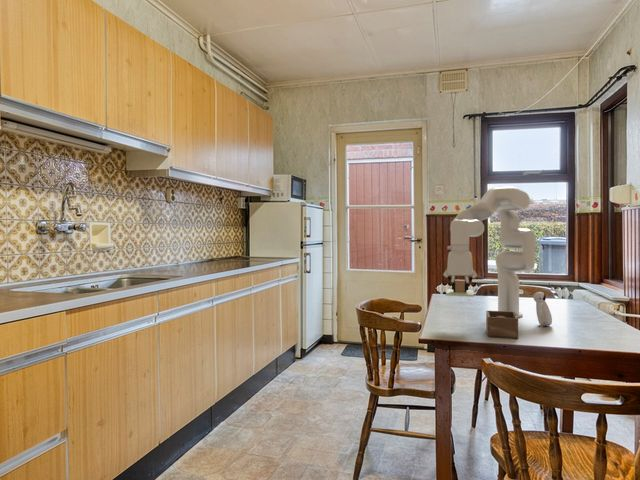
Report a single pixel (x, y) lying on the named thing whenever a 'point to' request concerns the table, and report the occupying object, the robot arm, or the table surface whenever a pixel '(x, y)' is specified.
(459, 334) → the table surface
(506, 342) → the table surface
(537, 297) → the toy
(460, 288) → the lid
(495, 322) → the box
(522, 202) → the robot arm
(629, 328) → the table surface
